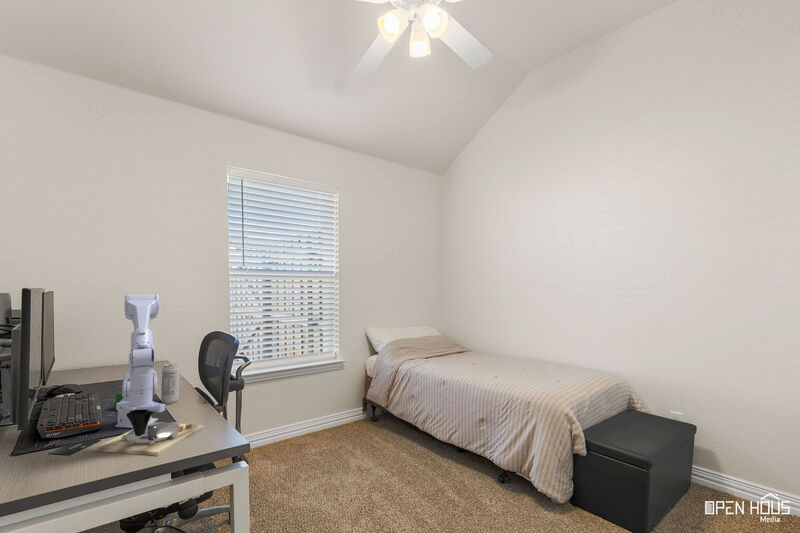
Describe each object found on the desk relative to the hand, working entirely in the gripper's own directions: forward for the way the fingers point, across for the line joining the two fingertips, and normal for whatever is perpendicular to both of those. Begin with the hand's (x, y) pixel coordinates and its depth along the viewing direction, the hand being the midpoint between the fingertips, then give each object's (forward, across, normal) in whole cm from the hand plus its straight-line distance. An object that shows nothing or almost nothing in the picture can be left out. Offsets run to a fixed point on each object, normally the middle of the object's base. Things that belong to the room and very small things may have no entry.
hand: (140, 434), depth 116 cm
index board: (+3, 0, +5) cm, 6 cm away
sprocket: (+2, 0, +5) cm, 5 cm away
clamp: (+4, -28, +28) cm, 40 cm away
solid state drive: (+4, -18, -4) cm, 18 cm away
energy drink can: (+3, -19, +37) cm, 42 cm away
